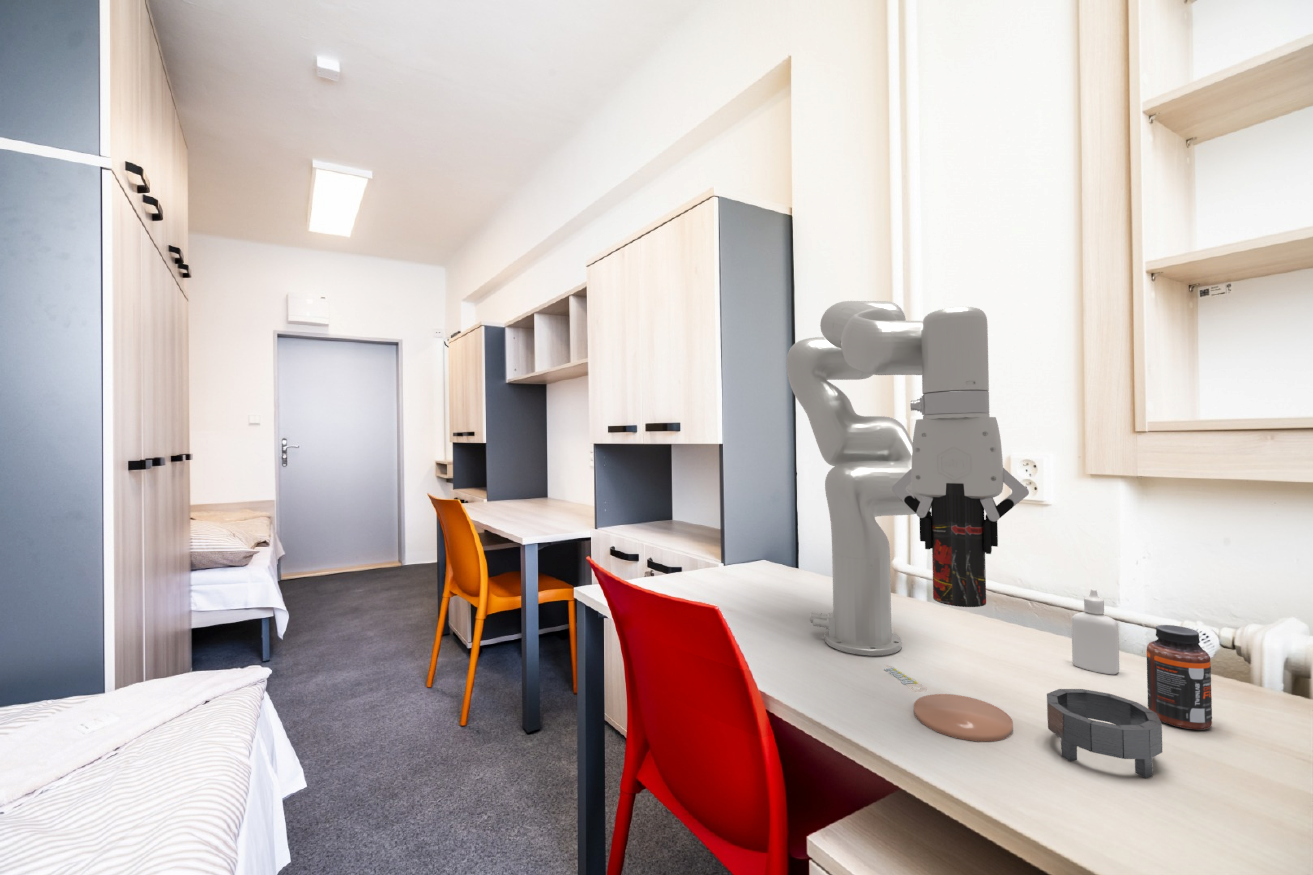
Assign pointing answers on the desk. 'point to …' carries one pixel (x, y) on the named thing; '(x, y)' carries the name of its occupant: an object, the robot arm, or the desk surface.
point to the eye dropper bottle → (1095, 638)
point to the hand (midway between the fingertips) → (958, 548)
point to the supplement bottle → (1179, 678)
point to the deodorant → (958, 549)
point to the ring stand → (1105, 726)
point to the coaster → (963, 717)
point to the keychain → (905, 679)
